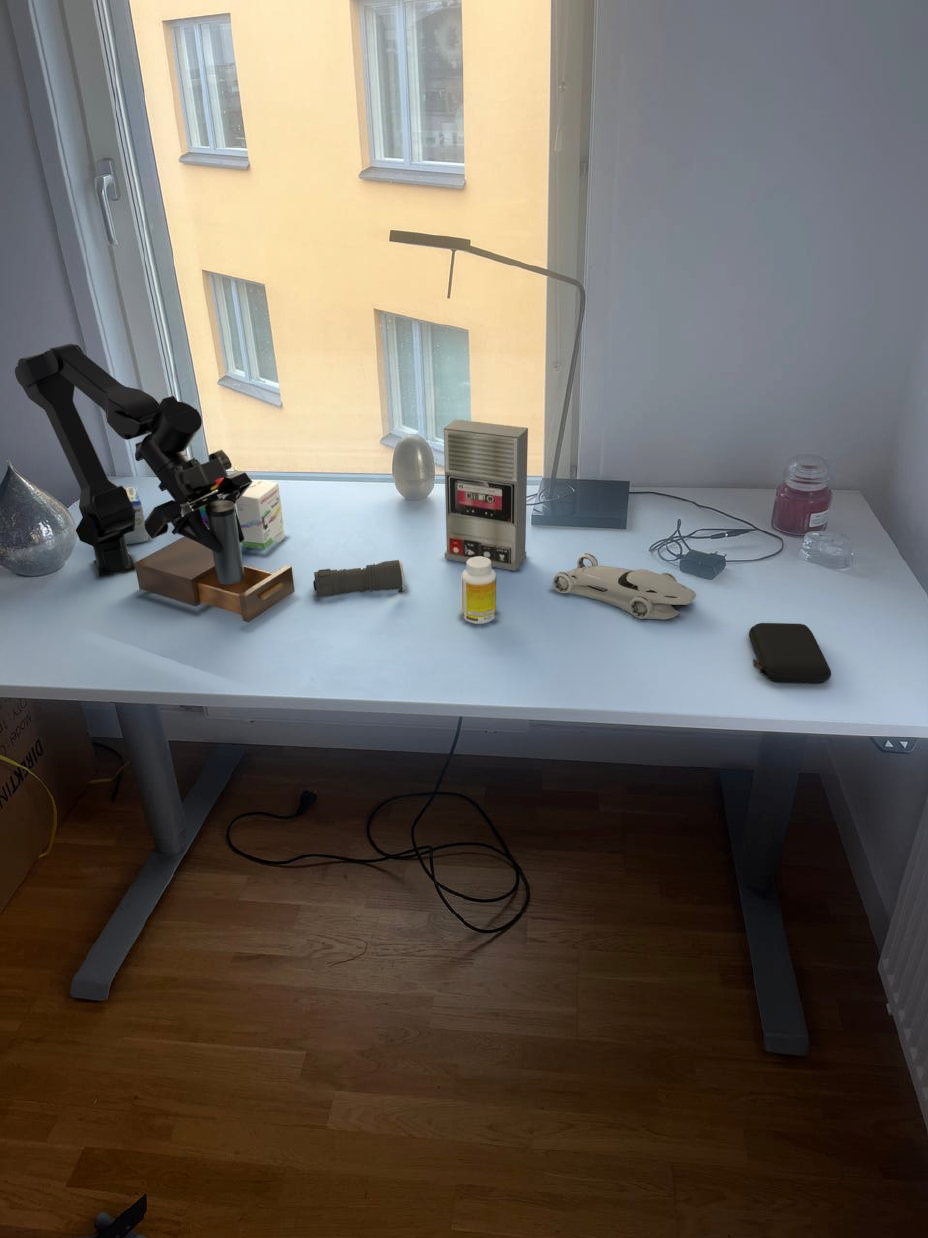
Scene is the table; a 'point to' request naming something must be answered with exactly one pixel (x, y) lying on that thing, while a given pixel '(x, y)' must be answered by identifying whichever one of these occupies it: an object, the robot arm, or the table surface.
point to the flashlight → (360, 579)
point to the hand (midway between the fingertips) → (231, 546)
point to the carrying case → (788, 653)
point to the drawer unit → (175, 570)
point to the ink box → (261, 514)
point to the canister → (225, 541)
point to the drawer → (247, 591)
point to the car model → (626, 588)
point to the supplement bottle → (479, 591)
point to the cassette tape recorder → (486, 492)
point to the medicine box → (136, 519)
